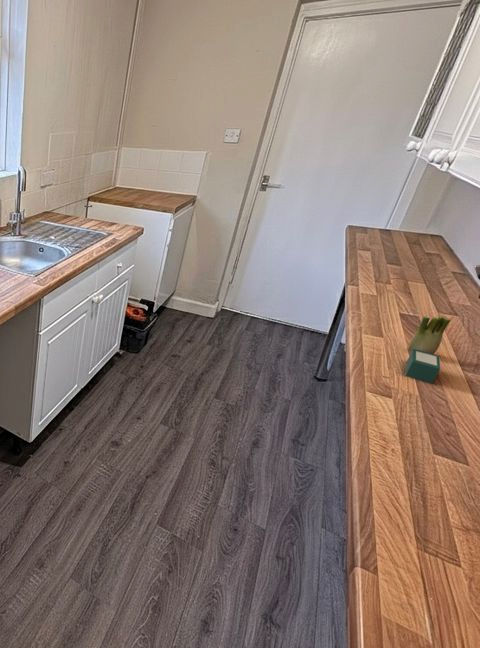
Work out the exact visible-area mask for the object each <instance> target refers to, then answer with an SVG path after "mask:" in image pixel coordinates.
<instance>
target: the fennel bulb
mask: <svg viewBox="0 0 480 648" xmlns="http://www.w3.org/2000/svg"><path fill="white" fill-rule="evenodd" d="M451 321H452V320H451V319H450V318H448V317H444V316H440V315H438V316H432V318H431V317H429V316H428V315H424V316H423V317H422V319H421V322H420V324H419V326H418V328H417V330H416V331H415V333H414V334H413V336H412V338H411V340H410V342H409V346H408V351H409V352H410V353H411V352H412V350H413V349H416V350H419V351H423V352H427V353H431V354H435V353H437V351H438V349H439V348H440V345H441V344H442V343H441V342H442V340H443V336H444V333H445V330H446V328H448V325H449V324H450V322H451Z"/></svg>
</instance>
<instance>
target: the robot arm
mask: <svg viewBox="0 0 480 648" xmlns="http://www.w3.org/2000/svg"><path fill="white" fill-rule="evenodd" d="M474 270H475V274H476V277H477V279H478V280H479V281H480V264H477V265H475V266H474ZM478 299H480V293H479V294H478Z"/></svg>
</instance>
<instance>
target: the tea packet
mask: <svg viewBox="0 0 480 648" xmlns="http://www.w3.org/2000/svg"><path fill="white" fill-rule="evenodd" d="M440 371H441V361H440V355H439V354H435V353H434V354H431V353H427V352H423V351H419V350H416V349H413V350H412V352H411V351H410V354H409V356H408V358H407V359H406V362H405V373H404V374H405V377H409V378H411V379H414V380H419V381H422V382H425V383H428V384H433V383H434V382H435V380H436V378H437V376H438V374H439V372H440Z"/></svg>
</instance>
